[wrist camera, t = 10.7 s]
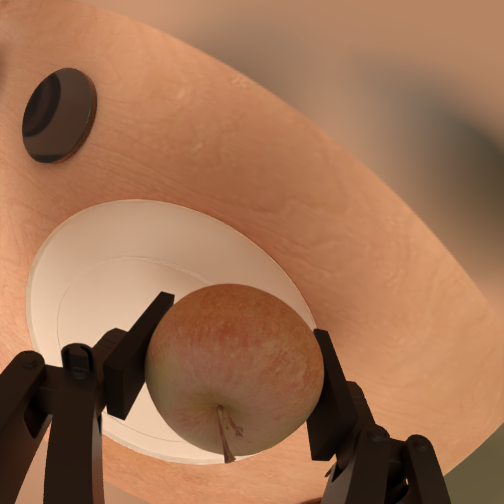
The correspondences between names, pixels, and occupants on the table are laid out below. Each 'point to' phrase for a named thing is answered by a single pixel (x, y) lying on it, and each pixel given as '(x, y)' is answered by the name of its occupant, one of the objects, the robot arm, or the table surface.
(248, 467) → the table surface
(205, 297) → the fruit
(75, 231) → the plate
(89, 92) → the slate coaster
